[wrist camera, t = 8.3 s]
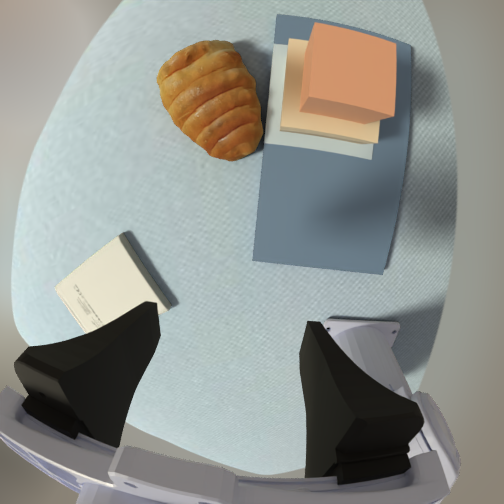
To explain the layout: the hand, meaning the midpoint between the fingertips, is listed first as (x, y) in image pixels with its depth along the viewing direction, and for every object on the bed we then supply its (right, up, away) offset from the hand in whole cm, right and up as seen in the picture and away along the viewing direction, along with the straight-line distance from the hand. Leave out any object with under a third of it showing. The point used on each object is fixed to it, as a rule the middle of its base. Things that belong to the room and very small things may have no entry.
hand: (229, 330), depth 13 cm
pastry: (-2, +16, +6) cm, 17 cm away
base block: (+6, +15, +4) cm, 16 cm away
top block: (+6, +13, +1) cm, 15 cm away
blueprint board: (+8, +12, +6) cm, 15 cm away
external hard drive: (-14, 0, +13) cm, 19 cm away
